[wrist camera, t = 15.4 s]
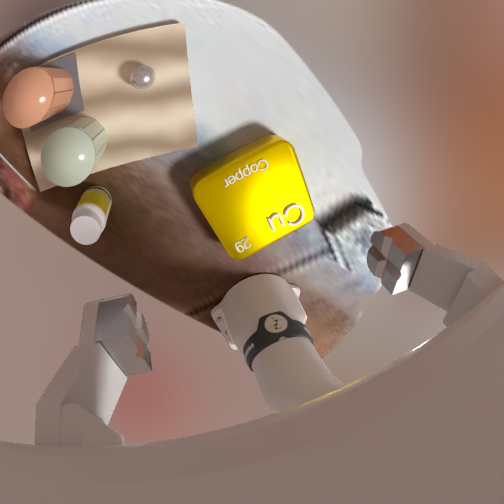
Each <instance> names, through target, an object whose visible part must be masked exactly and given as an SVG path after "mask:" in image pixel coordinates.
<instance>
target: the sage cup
mask: <svg viewBox="0 0 504 504" xmlns="http://www.w3.org/2000/svg"><path fill="white" fill-rule="evenodd" d="M106 144H107V136H106V131H105V129H104V127H103V126H102V125H101V124H100V123H99V122H98V120H96V119H93V118H89V117H82V118H79V119H76V120H73V121H71V122H70V123H68V124H66V125H64V126H62V127H61V128H59V129H57V130H55V131H54V132H53V133H52V134H51V135H50V136H49V137H48V138H47V140H46V141H45V143H44V145H43V148H42V151H41V166H42V169H43V171H44V173H45V175H46V176H47V178H48V179H49V180H50V181H51V182H53V183H54V184H56V185H59V186H63V187H71V186H75V185H77V184H79V183H81V182H82V181H84V180H85V179H86V178H87V176H88V175H89V174H90V173H91V171H92V170H93V169H94V167H95V166H96V164H97V163H98V161H99V160H100V158H101V157H102V155H103V154H104V151H105V148H106Z"/></svg>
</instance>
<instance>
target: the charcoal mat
mask: <svg viewBox="0 0 504 504" xmlns="http://www.w3.org/2000/svg"><path fill="white" fill-rule="evenodd" d="M43 67H54V68H61V69H65V70H66V71H67V72H68V73H69V74H70V75H71V78H72V80H73V87H74V89H73V90H74V91H73V94H72V97H71V100H70V102H69V104H68V105H67V106H66V107H65V109H64V110H63V111H62V112H61V113H59V114H57V115H55V116H52V117H50V118H48V119H45V120H43V121H41V122H39V123H37V124H35V125H32V126H30V129H31V132H33V131H35V130H37V129H39V128H41V127H44V126H46V125H48V124H50V123H53V122H55V121H58V120H60V119H63V118H65V117H68V116H70V115H73V114H76V113H78V112H81V111H84V107H83V101H82V95H81V89H80V83H79V76H78V68H77V60H76V53H73V54H70V55H68V56H65V57H63V58H61V59H58V60H56V61H54V62H51V63H49V64H47V65H45V66H43Z"/></svg>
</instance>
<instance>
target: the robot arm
mask: <svg viewBox="0 0 504 504" xmlns="http://www.w3.org/2000/svg"><path fill="white" fill-rule="evenodd" d="M370 242H371V244H372V246H371V248H370V249H369V251H368V254H367V264H368V267H369V269H370V271H371V272H372V273H373V275H374V276H377V277H379V278H381V283H382V285H383V286H384V287H385V288H386V289H387V290H388V291H389V292H390V293H391V295H394V294H396V293H398V292H401V291H404V290H406V289H408V288H409V290H410V291H412V292H414V293H415V294H417V295H419V296H421V297H423V298H424V299H426V300H428V301H430V302H432V303H433V304H435V305H437V306H439V307H440V308H442V309H444V310H446V311H447V313H446V315H445V317H444V319H443V323H444V324H445V325H446V326H447V328H445V329H444V330H442V331H441V332H439V333H438V334H437V335H435V336H433V337H432V338H430V339H429V340H427V341H426V342H424V343H423V344H421V345H420V346H418V347H416V348H415V349H413V350H411V351H410V352H408V353H406V354H405V355H403V356H401V357H399V358H398V359H396V360H394V361H392V362H391V363H389V364H387V365H385V366H383V367H381V368H379V369H378V370H376V371H374V372H372V373H370V374H368V375H366V376H364V377H362V378H360V379H358V380H356V381H354V382H351V383H349V384H347V385H345V384H344V383H342V382H340V381H339V380H338V379H337V378H335V377H334V376H333V375H332V374H331V372H330V371H329V370H328V368H327V367H326V366H325V364H324V362H323V361H322V359H321V358H320V356H319V355H318V353H317V351H316V350H315V348H314V346H313V340H312V338H311V335H310V333H309V331H308V330H307V329H306V327H305V323H306V319H307V316H306V313H305V311H304V309H303V307H302V305H301V303H300V301H299V299H298V298H299V295H300V289H299V287H298V286H296V285H292V284H289V283H287V282H286V281H285V280H284V279H283V278H281V277H279V276H277V275H273V274H260V275H255V276H251V277H249V278H246V279H244V280H242V281H240V282H239V283H237V284H236V285H234V286H233V287H232V288H231V289H230V290H229V291H228V292H227V293H226V295H225V297H224V298H223V300H222V301H221V303H219V304H218V305H217V306H216V307H214V308H213V309H212V310H211V312H210V313H211V316H212V318H213V320H214V321H215V323H216V324H217V326H218V328H219V329H220V331H221V332H222V334H223V336H224V337H225V339H226V340H227V342H228V343H229V345H230V346H231V348H232V349H234V350H239V351H240V353H241V354H242V356H243V357H244V359H245V361H246V363H247V365H248V366H249V368H250V370H251V371H252V372H254V374H255V377H256V380H257V382H258V385H259V387H260V390H261V393H262V395H263V397H264V400H265V402H266V403H267V404H268V405H269V406H270V407H271V408H272V409H274V410H276V411H278V412H277V413H274V414H271V415H268V416H265V417H262V418H259V419H256V420H252V421H249V422H245V423H242V424H238V425H234V426H230V427H227V428H223V429H219V430H214V431H210V432H206V433H201V434H196V435H191V436H186V437H181V438H175V439H169V440H163V441H155V442H148V443H139V444H129V445H125V444H124V437H123V436H122V435H121V434H119V433H118V432H116V431H115V430H113V429H112V428H110V427H109V426H108V423H109V421H110V418H111V416H112V413H113V411H114V408H115V406H116V403H117V401H118V399H119V396H120V394H121V392H122V389H123V387H124V384H125V383H126V380H127V376H132V375H137V374H141V373H146V372H150V371H152V365H151V355H150V352H149V350H148V348H147V347H146V346H147V344H148V342H149V334H148V329H147V325H146V322H145V319H144V317H143V315H142V313H141V312H139V311H138V310H137V307H136V301H135V299H134V297H133V295H132V294H125V295H121V296H116V297H111V298H107V299H101V300H98V301H93V302H89V303H86V305H85V306H84V312H83V317H82V324H81V331H80V339H79V346H75V347H74V348H73V350H72V351H71V352H70V354H69V355H68V357H67V358H66V360H65V361H64V362H63V364H62V365H61V367H60V368H59V370H58V371H57V373H56V374H55V376H54V377H53V379H52V380H51V382H50V383H49V385H48V386H47V388H46V389H45V391H44V393H43V394H42V396H41V397H40V399H39V401H38V402H37V404H36V419H35V420H36V421H35V445H29V444H20V443H13V442H6V441H0V504H504V281H503V280H502V279H501V278H500V277H499V276H498V275H497V274H496V273H495V272H494V271H493V270H492V269H491V268H490V267H488V266H487V265H486V264H485V263H484V262H482V261H479V260H477V259H474V258H472V257H469V256H466V255H464V254H461V253H458V252H456V251H453V250H451V249H448V248H445V247H443V246H440V245H437V244H436V245H433V244H432V243H431V242H430V241H429V240H427V239H426V238H425V237H424V236H423V235H421V234H420V233H419V232H418V231H416V230H415V229H414V228H413V227H411V226H410V225H409V224H407V223H401V224H398V225H395V226H392V227H388V228H385V229H381V230H378V231H374V233H373V234H372V236H371V240H370Z"/></svg>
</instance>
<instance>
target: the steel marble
mask: <svg viewBox="0 0 504 504" xmlns="http://www.w3.org/2000/svg"><path fill="white" fill-rule="evenodd" d="M155 77H156V74H155V71H154V70H153V68H151V67H150V66H146V65H142V66H139V67H137V68H135V69H134V70H133V72H132V73H131V76H130V82H131V84H132V86H133V87H135V88H136V89H146V88H148V87H150V86H151V85H152V84H153V83H154V81H155Z"/></svg>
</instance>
